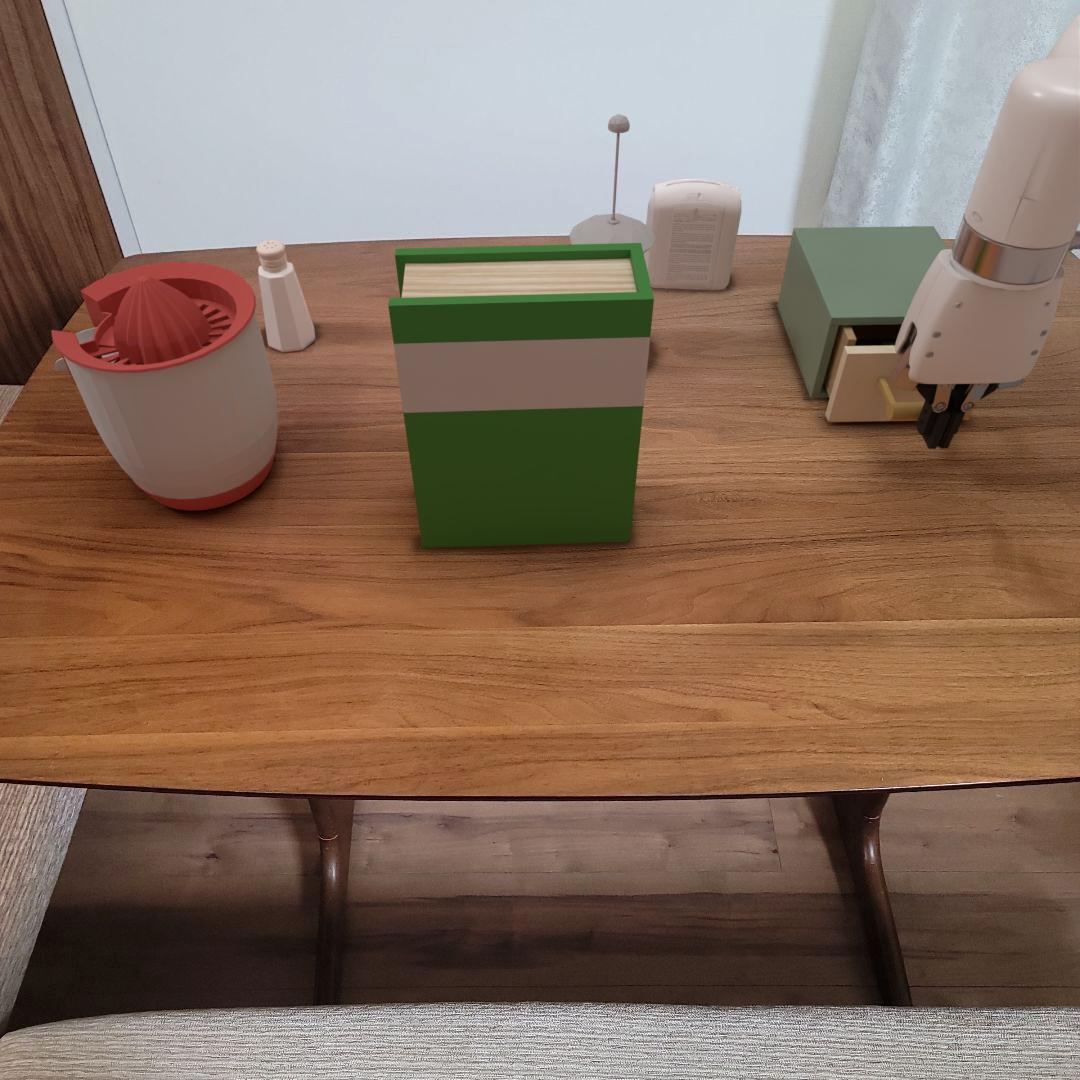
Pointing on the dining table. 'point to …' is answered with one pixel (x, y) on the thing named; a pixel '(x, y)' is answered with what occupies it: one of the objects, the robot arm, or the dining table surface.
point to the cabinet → (849, 286)
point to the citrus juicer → (177, 381)
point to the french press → (613, 213)
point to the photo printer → (692, 233)
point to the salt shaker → (283, 300)
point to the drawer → (868, 379)
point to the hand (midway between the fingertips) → (932, 438)
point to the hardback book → (523, 389)
